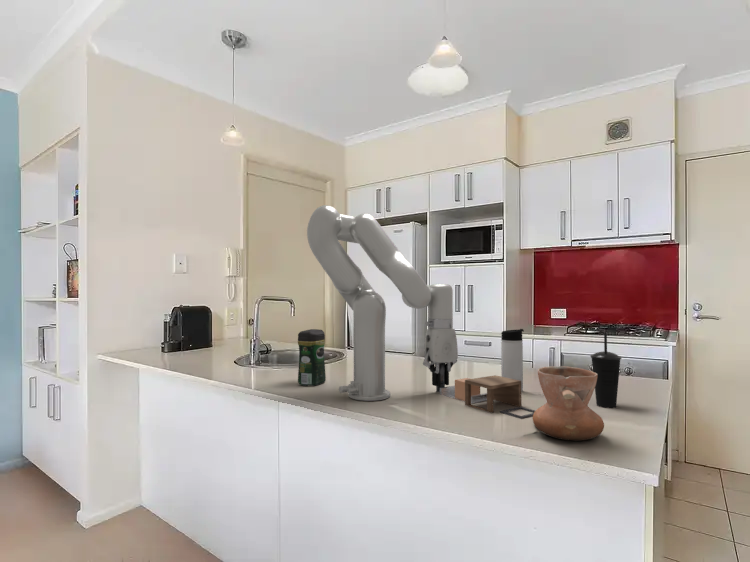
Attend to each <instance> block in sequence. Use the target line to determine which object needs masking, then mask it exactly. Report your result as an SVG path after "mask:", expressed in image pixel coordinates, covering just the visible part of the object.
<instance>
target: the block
mask: <svg viewBox="0 0 750 562" xmlns="http://www.w3.org/2000/svg"><path fill="white" fill-rule="evenodd" d="M468 379H471V378H469V377H465V378H458V379H454V386H455V398H459V399H462V400H465V380H468ZM479 394H481V387H480V386H475V385H471V396H473V395H479Z"/></svg>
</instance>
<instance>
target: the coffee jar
mask: <svg viewBox="0 0 750 562" xmlns="http://www.w3.org/2000/svg"><path fill="white" fill-rule="evenodd" d="M325 343H326V335H325V331H323V329H316V328H313V329H307V330H302V331H299V332H298V333H297V345H298V349H299V350H298V370H297V371H298V372H297V384H299V385H301V386H303V387H309V386H310V387H312V386H315V387H316V386H319V385H321V384H324V383H325V382H326V381H327V380H326V379H327V377H326V376H327V375H326V365H325V361H326V360H325V345H326V344H325Z"/></svg>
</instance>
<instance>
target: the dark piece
mask: <svg viewBox="0 0 750 562" xmlns="http://www.w3.org/2000/svg"><path fill="white" fill-rule="evenodd" d="M518 410H522V411H525V412H529V413H528V414H524V415H520V414H516V413H512V412H513V411H514V412H515V411H518ZM535 411H536V410H535V409H532V408H527V407H523V406H520V407H519V406H515V407H512V408H507V409H503V410H501V409H500V410H499V413H501V414H504V415H506V416H510V417H513V418H517V419H521V420H524V419H527V418H531V417H532V418H533V414H534V412H535Z"/></svg>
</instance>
